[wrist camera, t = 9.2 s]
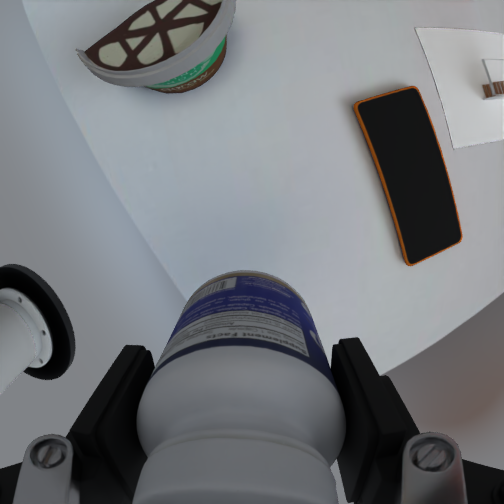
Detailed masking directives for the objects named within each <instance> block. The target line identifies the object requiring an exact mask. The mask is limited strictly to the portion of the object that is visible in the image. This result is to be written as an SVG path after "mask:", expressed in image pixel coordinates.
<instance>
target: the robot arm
mask: <svg viewBox="0 0 504 504" xmlns="http://www.w3.org/2000/svg"><path fill="white" fill-rule="evenodd" d="M53 345H54V343H53V336H52V333H51V329H50V327H49V324H48V322H47V320H46V318H45V316H44V315H43V313H42V311H41V310H40V309H39V307H38V306H37V305H36V303H35V302H34V301H33V300H32V299H31V298H30V297H29V296H27V295H26V294H25V293H23V292H22V291H20V290H18V289H16V288H12V287H6V288H3V289H1V290H0V395H1V394H2V393H3V392H4V390H6V388H7V387H8V386H9V385H10V384H11V383H12V382H13V381H14V380H15V379H16V378H17V377H18V376H19V375H20V374H21V373H22V372H23V371H24V370H25V369H26V368H27V367H28V366H29V367H33V368H38V367H42V366H43V365H45V364H46V363H47V362H48V361H49V360H50V358H51V356H52V354H53ZM154 369H155V366H154V362H153V358H152V354H151V352H150V351H149V350H146V348H145V347H144V346H141V345H126V346H125V347H124V348H123V349H122V351H121V353H120V354H119V355H118V357H117V358H116V360H115V361H114V363H113V364H112V366H111V367H110V369H109V370H108V372H107V373H106V375H105V376H104V378H103V379H102V381H101V382H100V384H99V385H98V387H97V388H96V390H95V391H94V393H93V395H92V396H91V397H90V399H89V401H88V402H87V404H86V405H85V407H84V408H83V410H82V411H81V413H80V415H79V416H78V418H77V419H76V421H75V423H74V424H73V426H72V428H71V429H70V432H69V433H68V434H67V436H66V437H63V436H61V435H56V434H48V435H43V436H41V437H38V438H37V439H35V440H33V441H32V442H31V443H30V444H29V446H28V447H27V449H26V451H25V455H24V459H23V462H21V463H18V464H15V465H11V466H8V467H5V468H2V469H0V504H132V502H133V498H134V495H135V491H136V487H137V484H138V481H139V477H140V474H141V471H142V468H143V466H144V464H145V462H146V461H147V459H148V457H147V455H146V454H145V452H144V450H143V448H142V446H141V443H140V441H139V437H138V433H137V421H136V419H137V411H138V407H139V403H140V400H141V398H142V395H143V392H144V390H145V387H146V385H147V382H148V380H149V379H150V377H151V375H152V373H153V371H154ZM331 372H332V374H333V377H334V380H335V383H336V386H337V388H338V391H339V394H340V397H341V400H342V404H343V408H344V412H345V416H346V435H345V440H344V444H343V447H342V449H341V451H340V453H339V455H338V457H337V461H338V466H339V470H340V474H341V478H342V482H343V486H344V491H345V495H346V500H347V502H348V503H351V502H354V504H504V470H500V469H496V468H492V467H488V466H484V465H481V464H477V463H474V462H470V461H467V460H463V459H462V457H461V452H460V449H459V446H458V444H457V443H456V442H455V441H454V440H453V439H452V438H450V437H449V436H447V435H445V434H442V433H438V432H427V433H421V434H420V432H419V430H418V428H417V427H416V424H415V423H414V421H413V419H412V417H411V415H410V413H409V412H408V410H407V408H406V406H405V404H404V403H403V401H402V399H401V397H400V395H399V394H398V392H397V390H396V388H395V386H394V385H393V383H392V381H391V380H390V378H389V377H388V376H386V375H385V376H379V374H378V372H377V370H376V368H375V366H374V365H373V363H372V361H371V359H370V357H369V355H368V354H367V352H366V350H365V348H364V346H363V344H362V343H361V341H360V339H359V338H358V337H356V338H346V339H340V340H339V343H338V344H334V345H333V347H332V359H331Z"/></svg>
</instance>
